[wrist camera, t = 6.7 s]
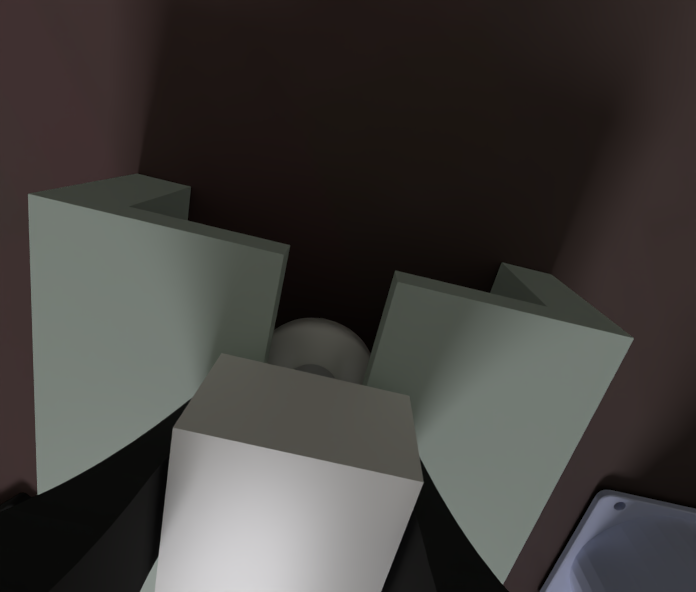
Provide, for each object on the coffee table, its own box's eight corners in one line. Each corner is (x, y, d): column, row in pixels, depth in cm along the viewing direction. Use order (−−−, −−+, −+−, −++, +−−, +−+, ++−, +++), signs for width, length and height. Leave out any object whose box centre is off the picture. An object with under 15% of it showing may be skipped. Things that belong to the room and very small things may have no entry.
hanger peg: (398, 328, 15) (423, 482, 9) (363, 439, 17) (362, 640, 10) (259, 295, 15) (172, 427, 8) (238, 411, 17) (154, 598, 10)
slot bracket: (551, 274, 17) (634, 338, 12) (440, 533, 22) (463, 659, 16) (137, 173, 16) (28, 193, 11) (120, 466, 21) (40, 575, 16)
